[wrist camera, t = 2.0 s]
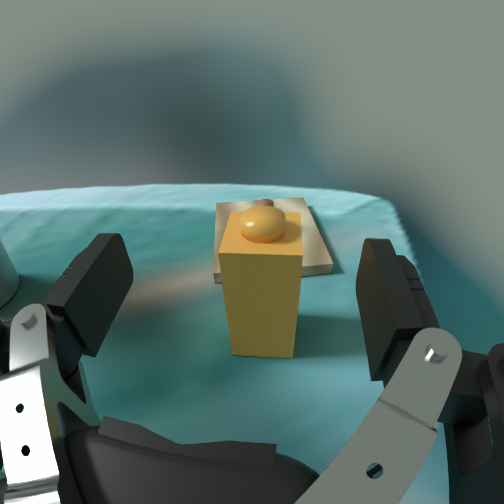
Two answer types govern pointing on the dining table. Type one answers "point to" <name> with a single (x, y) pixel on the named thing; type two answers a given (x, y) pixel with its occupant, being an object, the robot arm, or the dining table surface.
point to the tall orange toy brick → (262, 280)
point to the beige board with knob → (312, 242)
